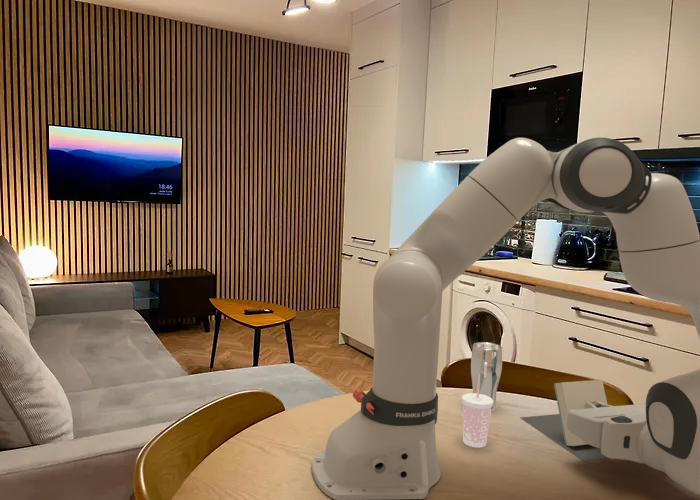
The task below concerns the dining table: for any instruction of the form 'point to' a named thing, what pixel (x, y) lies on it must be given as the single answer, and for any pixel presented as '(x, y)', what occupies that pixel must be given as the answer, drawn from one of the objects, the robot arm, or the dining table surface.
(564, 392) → the tile
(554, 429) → the mat
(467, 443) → the beverage cup
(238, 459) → the dining table surface
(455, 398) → the dining table surface
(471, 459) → the dining table surface
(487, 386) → the beer glass
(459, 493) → the dining table surface
